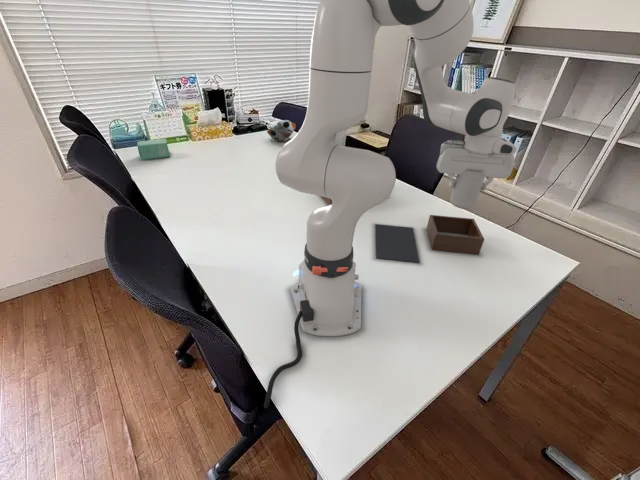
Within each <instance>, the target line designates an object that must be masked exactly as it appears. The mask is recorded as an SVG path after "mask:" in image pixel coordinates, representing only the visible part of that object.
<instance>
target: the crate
mask: <svg viewBox="0 0 640 480" xmlns="http://www.w3.org/2000/svg"><path fill="white" fill-rule="evenodd" d="M425 230H426V231H425V232H426V234H427V239H428V241H429V246H430V249H431V251H436V252H437V251H438V252H448V253H458V254H466V255H467V254H468V255H477V256H478V255H480V252H481V250H482V247H483V244H484V242H485V237H484V236H483V234H482V232H481V230H480V228H479V225H478V224H477V222H476V220H475V218H470V217H457V216H447V215H438V214H437V215H436V214H430V215H429V216H428V221H427V225H426V229H425Z"/></svg>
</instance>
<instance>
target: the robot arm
mask: <svg viewBox="0 0 640 480" xmlns="http://www.w3.org/2000/svg"><path fill="white" fill-rule="evenodd" d="M313 21H314V22H313V27H312V34H311V42H310V54H309V79H308V81H309V82H308V96H307V107H306V113H305V117H304V120H303V122H302V125H301V127H300V129H299V130H298V132H297V133H296V134H295V136H294V137H293V138H292V139H291V140H289V141H286V143H285V144H284V145H282V146H281V148H280V149H279V150H278V153H277V155H276V158H275V173H276V177H277V179H278V180H279V182H280V183H281V184H282V185H284V186H285V187H287V188H290V189H292V190H293V191H297V192H299V193H303V194H309V195H313V196H317V197H321V196H323V197H327V198H330V199H331V200H332V204H330V205H328V204H326V205H323V206H320V207H318V208H316V209H315V210H313V211H312V212H311V214H310V215H309V216H308V218H307V220H306V243H305V245H304V249H303V256H304V259H303V260H302V262H300V263H299V264H298V269H297V270H295V271H294V272H293V273H292V276H293V277H295V276H297V278H298V279H297V283H296V284H294V285H292V286H291V288H290V292H291V293H290V294H291V296H292V299H293V303H294V306H295V310H296V313H297V316H296V318H295V321H294V326H293V330H294V338H295V345H296V350H297V354H296V355H297V356H296V358H295V359H293V360H292V361H290V362H288V363H284V364H282V365H280V366H278V368H276V370H274V372H273V374H272V375H271V377H270V379H269V381H268V385H267V389H266V394H265V398H264V403H263V408H264V409H268V408H269V406H270V402H271V398H272V393H273V389H274V384H275V381H276V380H277V378H278V376H279V375H280V374H281V372H283V371H285V370H287V369H291V368H293V367H295V366H296V365H298V364H299V363H300V361H301V359H302V357H303V350H302V345H301V337H300V331H299V326H300V327H301V330H302V331H303V332H304V333H307V334H309V335H311V336H312V335H313V336H316V337H317V336H318V337H341V336H346V335H351V334H354V333H356V332H358V331H360V330H361V328H362V290H363V289H362V288H363V287H362V285H361V284H359V283H358V282H356V281H359V277H360V275H359V274H356V268H357V263H356V262H355V261H354V255H355V254H354V246H353V242H354V236H355V231H356V226H357V224H358V222H359V220H360V218H361V217H362V216H363V215H364V214H365V213H366V212H367V211H369V210H370V209H371V208H373V207H375V206H378V205H380V204H382V203H383V202H384V201H386V200H387V199H388V198H389V197H390V196H391V194H392V193H393V191H394V188H395V185H396V181H397V180H396V179H397V174H396V168H395V165H394V163H393V161H392V160H391V159H390V157H388V156H386V155H383V154H380V153H378V152H375V151H372V150H369V149H363V148H357V147H351V146H345V145H339V144H336V137H337V134H338V133H340V132H343V131H346V130H348V129H351V128H353V127H355V126H357V125H358V124H360V123H361V122H362V121H363V119H364V118H366V117H365V116H366V114H367V112H368V107H369V106H368V105H369V97H370V87H371V79H372V70H373V60H374V43H375V39H376V37H377V34H378V32H379V30H380V28H381V27H392V26H393V27H394V26H401V25H404V26H409V30H410V32H411V35H412V38H413V40H414V41H413V42H414V46H413V50H412V62H413V68H414V72H415V75H416V80H417V84H418V88H419V92H420V95H421V96H420V97H421V101H422V102H421V103H422V116H423V119H424V121H425V123H426V124H427V125H428V126H430V127H434V128H439V129H444V130H447V131H450V132H453V133H457V134H461V135H464V139H463V140H452V139H447V141H444V142H443V143H441V145H440V149H439V156H438V159H437V161H436V164H435V165H436V166H435V167H436V169H437V171H438V172H439V173H441V174H447V176H448V179H449V182H448V187H449V188H451V189H453V188H455V185H456V182H455V180H454V179H453V178H455V175H457V174H462V173H464V172H465V170H469V171H473V172H481V171H484V172H483V175H484V176H485V178H486V179H484V181H483V184H482V186H481V189H480V191H482V192H483V191H484V192H485V191H486V189H487V186H488V185H490V184H491V183H492V182H493V180H494V178H496V179H508V177H510V176H511V174H512V172H513V168H514V166H515V156H514V155H515V154H516V152H517V149H518V148H517V146H516V145H515V144H513V142H511V141H509V140H508V139H506V138H503V137H502V135H503V129H504V125H505V123H506V121H507V119H508V117H509V115H510V112H511V109H512V105H513V101H514V98H515V92H516V84H515V83H514V81H512V80H509V79H505V78H500V77H493V76H490V77H485V78H484V80H483V81H482V83H481V85H480V87H479V88H477V89H476V90H474V91H471V92H467V91H463V90H459V89H458V90H457V89H454V88H452V87H450V86H448V85H447V84H446V83H445V79H444V74H443V66H446V65H447V64H449V63H451V62H452V61H454V60H455V59H456V58H458V57H459V56H460V55H461V54H463V52H464V51H465V50H466V48H467V46H468V45H469V43H470V41H471V39H472V36H473V34H474V15H473V10H472V6H471V2H470V0H321V1H320V2H319V3H318V5H317V8H316V12H315V15H314V20H313ZM299 324H300V325H299Z"/></svg>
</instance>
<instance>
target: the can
mask: <svg viewBox="0 0 640 480" xmlns="http://www.w3.org/2000/svg"><path fill="white" fill-rule="evenodd" d="M483 172H484V171H481V172H473V171H469V170H465V172H464V173H462V174H456V177H455V180H454V181H455V182H456V185H455V188H452V191H451V193H450V198H449V202H450V203H451V205H452V206H453V207H455V208H458V209H461V210H469V209H472V208H475V207H476V204H477V201H478V198H479V195H480V193H481V190H480V189H481V186H482V184H483V182H484V181H485V178H486V177H485V176H484V175H483Z"/></svg>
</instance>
